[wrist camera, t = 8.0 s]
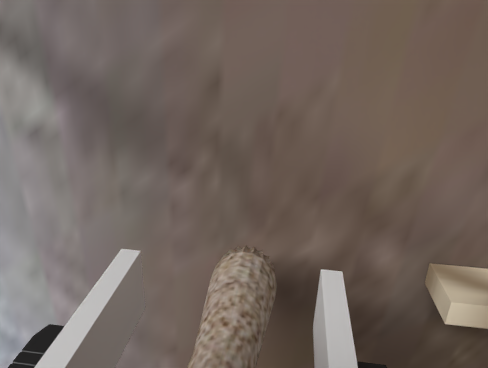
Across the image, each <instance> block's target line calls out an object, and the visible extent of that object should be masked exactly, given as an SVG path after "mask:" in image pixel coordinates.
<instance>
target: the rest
mask: <svg viewBox="0 0 488 368" xmlns="http://www.w3.org/2000/svg"><path fill="white" fill-rule="evenodd" d="M425 285H426V287H427V289H428V291H429V293H430V295H431V297H432V299H433V301H434V303H435V305H436V307H437V309H438V311H439V313H440V315H441V317H442V319H443V321H444V323H445V324H449V325H459V326H468V327H477V328H487V329H488V269H485V268H474V267H463V266H453V265H442V264H432V263H430V264H429V268H428V272H427V276H426V280H425Z"/></svg>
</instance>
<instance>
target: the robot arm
mask: <svg viewBox="0 0 488 368" xmlns="http://www.w3.org/2000/svg"><path fill="white" fill-rule="evenodd" d="M145 308H146V306H145V294H144V282H143V270H142V259H141V251H138V250H128V249H121V250H120V252H119V253H118V254H117V256H116V257H115V258H114V260H113V261H112V263H111V264H110V265H109V267H108V268H107V269H106V271H105V272H104V273H103V275H102V276H101V278H100V279H99V280H98V282H97V283H96V284H95V286H94V287H93V288H92V290H91V291H90V292H89V294H88V295H87V297H86V298H85V299H84V301H83V302H82V303H81V305H80V306H79V307H78V309H77V310H76V312H75V313H74V314H73V316H72V317H71V318H70V320H69V321H68V322H67V324H66V325H65V326H59V325H51V324H49V325H48V326H46V327H45V328H44V329H42V330H41V331H39V332H38V333H37V334H35V335H34V336H33V337H32V338H31V340H30V341H29V342H28V343H27V344H26V346H25V347H24V348H23V349H22V352H20V353H19V354H18V356H17V357H16V358H15V359H14V361H13V363H12V364H10V366H9V367H8V368H115V367H116V365H117V363H118V361H119V359H120V357H121V355H122V353H123V351H124V349H125V347H126V345H127V343H128V341H129V339H130V337H131V335H132V333H133V331H134V329H135V327H136V325H137V324H138V322H139V320H140V318H141V316H142V314H143V312H144V310H145ZM313 341H314V364H315V368H387V367H386V365H380V364H372V363H364V362H357V359H356V353H355V347H354V341H353V335H352V329H351V323H350V316H349V310H348V304H347V298H346V292H345V286H344V280H343V273H342V271H333V270H323V269H321V272H320V279H319V286H318V294H317V301H316V308H315V316H314V323H313Z"/></svg>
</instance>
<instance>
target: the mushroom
mask: <svg viewBox="0 0 488 368" xmlns="http://www.w3.org/2000/svg"><path fill="white" fill-rule="evenodd" d="M276 290H277V284H276V277H275V271H274V266H273V263H271V262H270V260H269V256H265V255H263V251H257V250H256V248H255V247H253V248H249V247H247V246H244V247H243V248H240V247H238V246H237V247H236V249H235V250H231V249H230V250H229V251H228V252H227V254H226V255H224V256H223V257H222V258H221V260H220V261H219V262H218V264H217V265H216V267H215V270H214V272H213V274H212V276H211V280H210V284H209V288H208V293H207V297H206V301H205V305H204V310H203V314H202V318H201V322H200V327H199V331H198V335H197V339H196V344H195V348H194V352H193V355H192V357H191V360H190V362H189V364H188V367H187V368H255V367H256V364H257V360H258V357H259V353H260V350H261V346H262V343H263V339H264V336H265V332H266V329H267V325H268V322H269V318H270V315H271V311H272V308H273V304H274V301H275V295H276Z"/></svg>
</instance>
